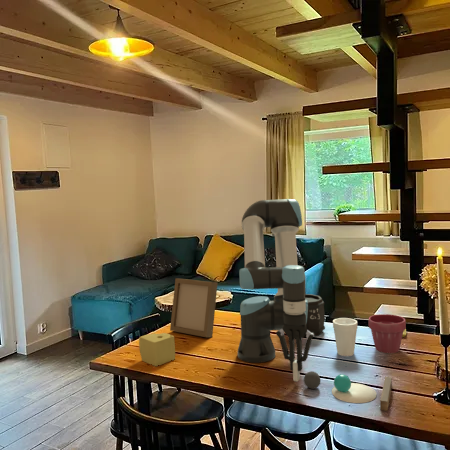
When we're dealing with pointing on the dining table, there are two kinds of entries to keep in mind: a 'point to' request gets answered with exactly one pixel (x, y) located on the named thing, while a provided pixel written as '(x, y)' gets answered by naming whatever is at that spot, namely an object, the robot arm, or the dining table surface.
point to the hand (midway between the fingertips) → (296, 379)
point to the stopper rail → (386, 394)
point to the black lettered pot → (315, 314)
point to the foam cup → (345, 335)
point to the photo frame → (194, 307)
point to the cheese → (157, 348)
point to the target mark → (356, 394)
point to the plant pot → (387, 332)
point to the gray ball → (312, 380)
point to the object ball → (342, 383)
